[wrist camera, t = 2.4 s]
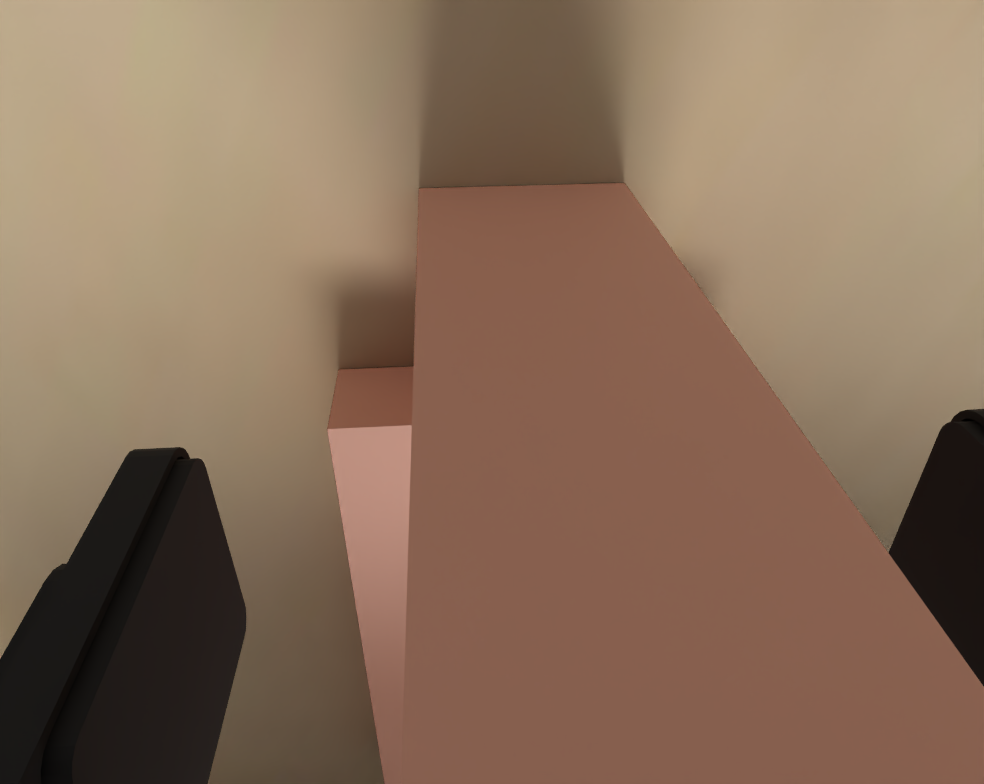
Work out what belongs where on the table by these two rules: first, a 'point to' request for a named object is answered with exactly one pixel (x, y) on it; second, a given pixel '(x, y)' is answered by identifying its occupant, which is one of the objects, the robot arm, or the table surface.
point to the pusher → (616, 533)
